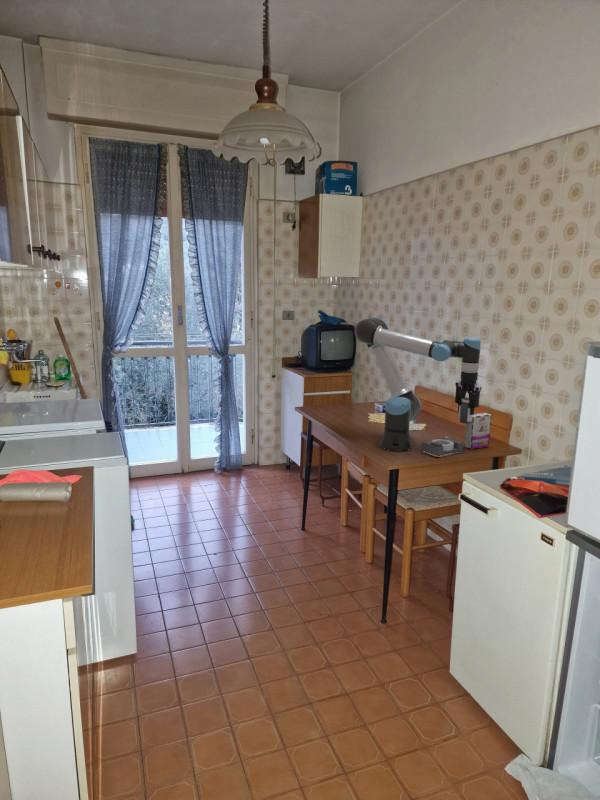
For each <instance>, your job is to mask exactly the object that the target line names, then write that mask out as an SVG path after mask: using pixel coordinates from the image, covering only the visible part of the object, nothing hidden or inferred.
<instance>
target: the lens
mask: <svg viewBox="0 0 600 800" xmlns="http://www.w3.org/2000/svg"><path fill="white" fill-rule="evenodd" d="M469 407H470V405H469V397H466V396H465V397H464V398H462V404H461V415H460V419H459V423H461V424H468V423H470V422H467V415H468V408H469Z"/></svg>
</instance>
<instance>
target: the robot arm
mask: <svg viewBox="0 0 600 800" xmlns="http://www.w3.org/2000/svg"><path fill="white" fill-rule="evenodd" d="M354 335H355V338H356V339H357V340H358V341H359V342H360V343H363V344H366V346H367V348H368V350H371V351H372V352H373V353H372V354H374V357H375V360H376V362H377V364H378V367H379V368H380V371H381V373H382V375H383V377H384V380H385V383H386V385H387V388H388V390H389V392H390V397H389V398H388V399H387V400H386V402H385V406H384V409H385V410H384V411H385V412H384V431H383V434H382V437H381V439H380V442H379V447H380V446H381V447H382V449H383V448H385V449H384V450H386V449H389V450H388V451H390V450H408V449H410V450H412V448H413V443H412V439H411V436H410V435H411V434H410V423H411V422H410V421H411V420H413V419H414V418H416V417H417V416H418V414H419V413H420V411H421V409H422V404H421V401H420V398H419V397H417V396H416V395H415V394H414V392H413V390H412V388H409V387H408V386H407V384H406V381H405V379H404V376H403V373H402V371H401V369H400V367H399V365H398V363H397V360H396V358H395V356H394V353H393V351H392V349H391V348H393V349H396V350H401V351H405V352H409V353H413V354H417V355H419V356H424V357H427V358H431V359H434V361H436V362H445V361H447V360H448V359H450V358H456V359H457V358H459V359H461V368H460V369H461V371H460V381H457V382H455V396H454V404H457V405H458V407H457V411H458V420H460V415H461V404H462V398H464V397H466V396H467V395H468V398H469V405H470V407H469V408H468V415H467V422H470V421H472V417H473V415H474V414H475V408H479V404H480V398H481V397H480V395H481V390H482V387H481V386H478V383H477V381H478V376H479V365H480V364H479V363H480V354H481V339H480V338H479V337H464V338H463V341H456V340H447V339H445V340H444V339H443V340H441V339H439V340H438V341H436V340H435V341H434V340H431V339H427V338H423V337H419V336H415V335H411V334H407V333H402V332H398V331H394V330H392V329H391V330H390V329H389V326H388V324H387V323H386V321H385V320H383V319H382V318H379V317H369V318H365V319H362V320H360V321H359V322H358V323H356V325H355V327H354ZM381 447H380V448H381ZM408 451H409V450H408Z"/></svg>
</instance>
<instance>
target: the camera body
mask: <svg viewBox="0 0 600 800" xmlns="http://www.w3.org/2000/svg"><path fill="white" fill-rule="evenodd" d="M421 445H422V447H421V452H422V451H425V452H428V453H431V454H434V455H437V456H440V455H444V454H449V453H456V452H462V453H463V446H464V443H463V441H460V440H456V439H453V438H451V437H449V436H444V437H442V438H439V439H437V438H436V439H432V440H431V442H430V441H427V440H426V441H422V444H421Z"/></svg>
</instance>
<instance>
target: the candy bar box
mask: <svg viewBox="0 0 600 800" xmlns="http://www.w3.org/2000/svg"><path fill="white" fill-rule="evenodd" d="M491 422H492V414H491V413H487V412H481V413H480V412H479V413H474V415H473V417H472V421H470V423H468V424H466V425H465V426H466V427H465V437H464V438H465V442H464V447H465V448H466V447H467V448H466V449H468V448H470V449H469V450H471V449H472V450H476V449H475V448H479V449H483V447H485V448H489V447H488V446H490V437H491V426H492V425H491Z"/></svg>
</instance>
